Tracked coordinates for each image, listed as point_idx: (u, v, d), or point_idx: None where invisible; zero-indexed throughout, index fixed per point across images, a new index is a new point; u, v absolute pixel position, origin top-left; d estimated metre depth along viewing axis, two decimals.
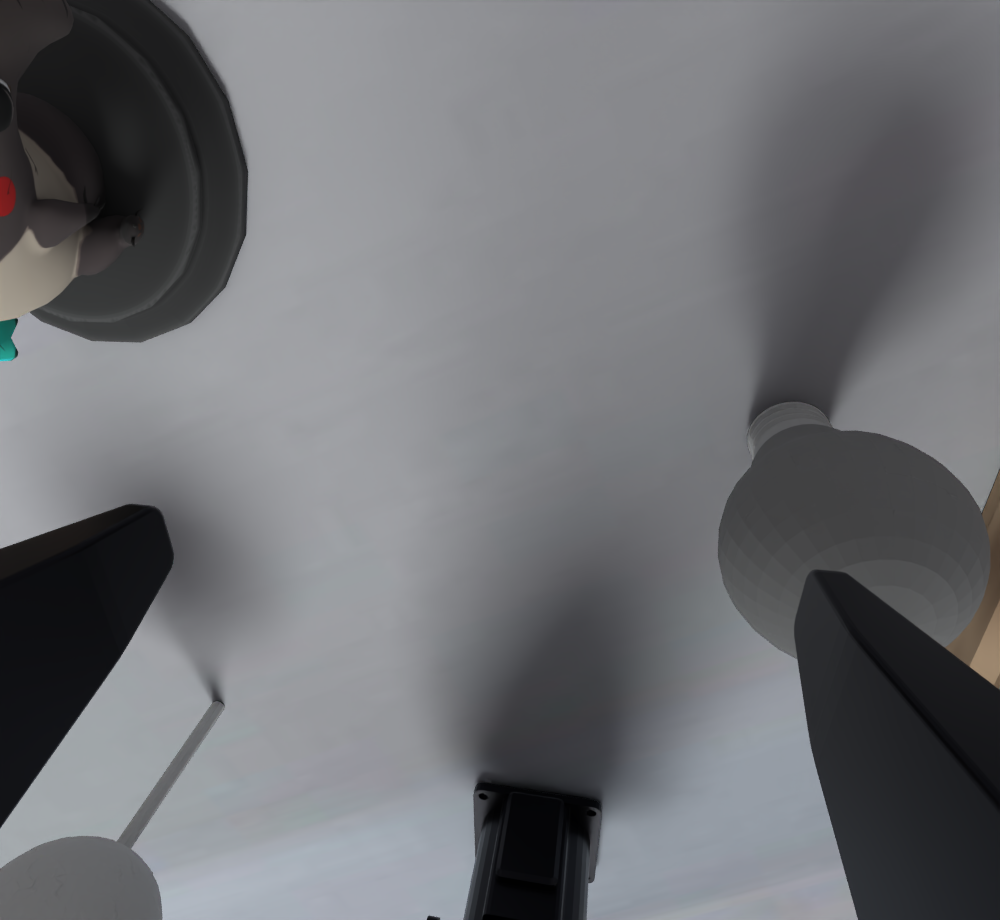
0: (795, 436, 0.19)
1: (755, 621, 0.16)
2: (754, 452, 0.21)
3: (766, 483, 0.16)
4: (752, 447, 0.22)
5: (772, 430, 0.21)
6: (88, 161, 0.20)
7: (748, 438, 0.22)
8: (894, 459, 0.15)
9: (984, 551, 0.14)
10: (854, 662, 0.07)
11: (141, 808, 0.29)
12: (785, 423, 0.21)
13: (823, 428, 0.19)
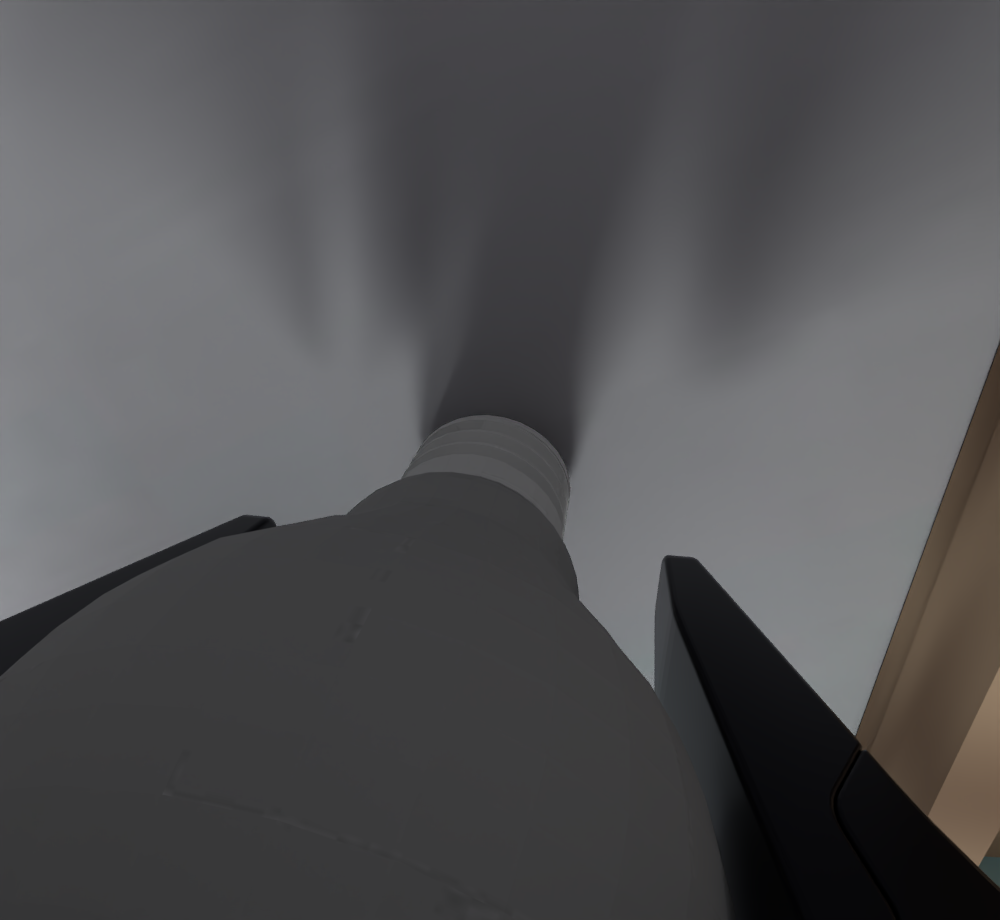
0: (367, 508, 0.07)
1: None
2: None
3: None
4: None
5: None
6: None
7: None
8: (263, 702, 0.03)
9: None
10: (675, 641, 0.07)
11: None
12: (426, 465, 0.09)
13: (446, 487, 0.08)
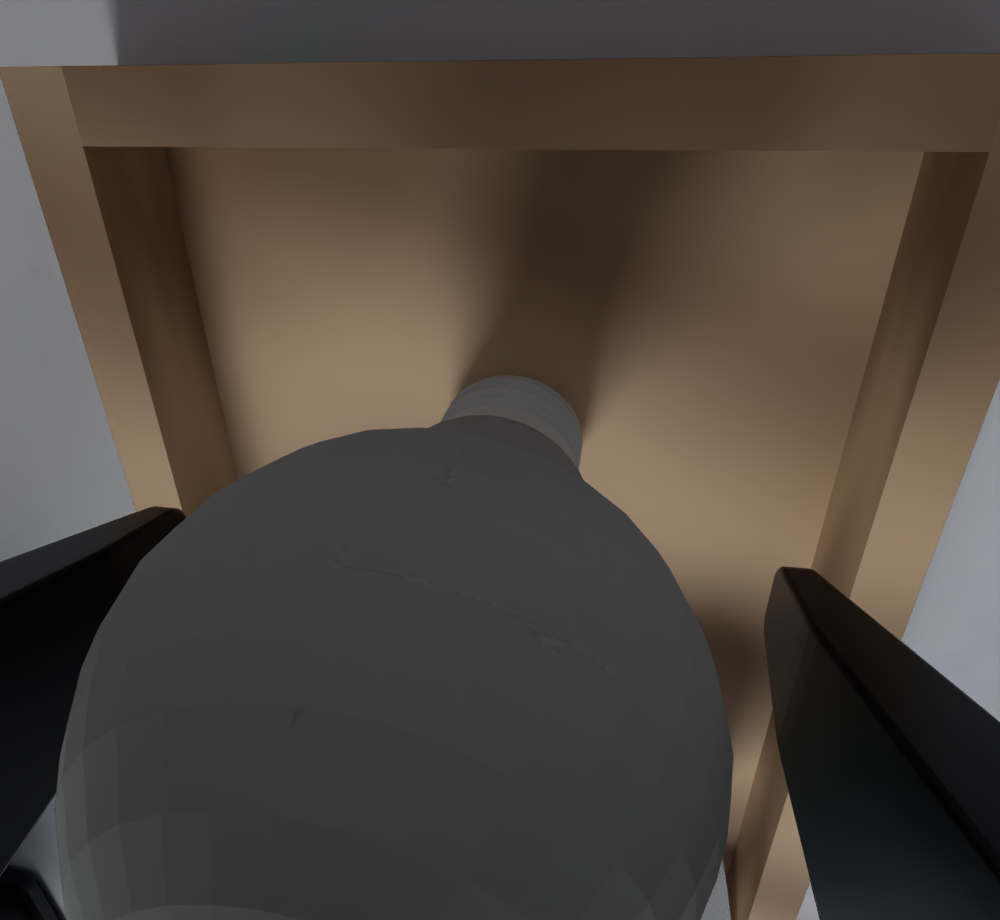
0: None
1: None
2: None
3: None
4: None
5: None
6: None
7: None
8: (393, 516, 0.05)
9: (660, 821, 0.04)
10: (815, 657, 0.07)
11: None
12: (459, 414, 0.11)
13: (483, 423, 0.09)
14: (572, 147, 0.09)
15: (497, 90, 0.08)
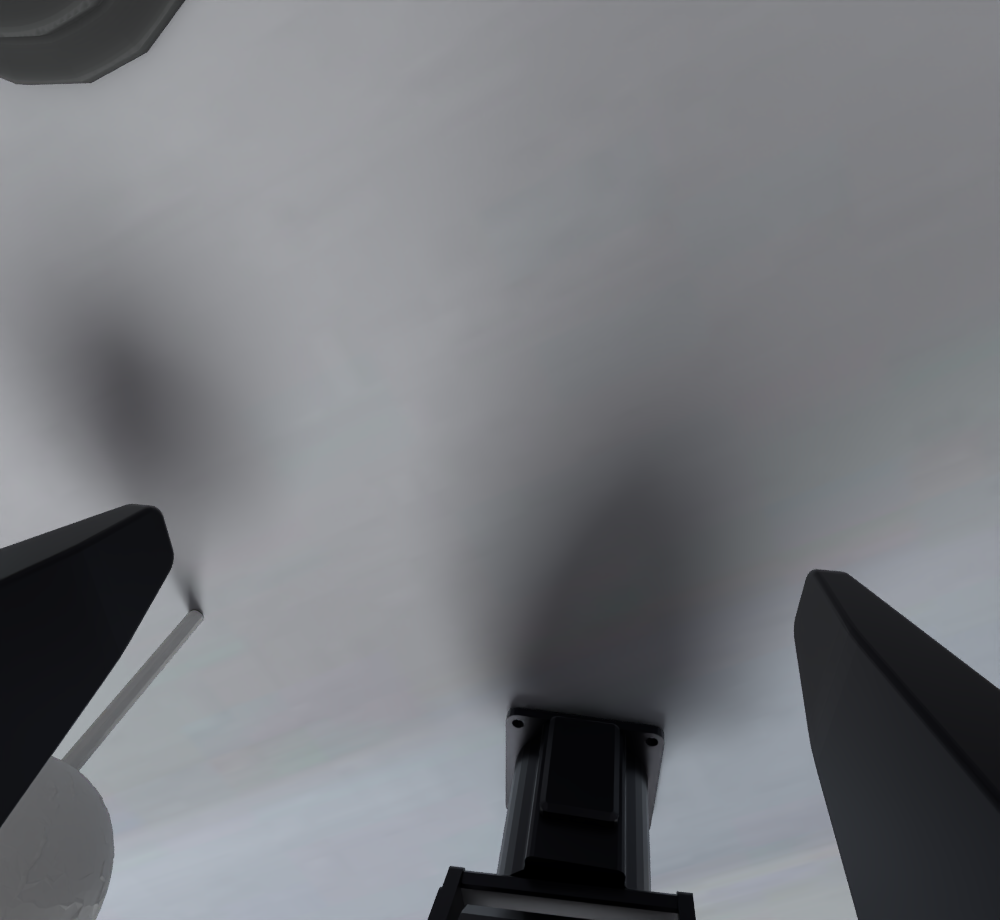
0: None
1: None
2: None
3: None
4: None
5: None
6: None
7: None
8: None
9: None
10: (854, 662, 0.07)
11: (93, 724, 0.23)
12: None
13: None
14: None
15: None
